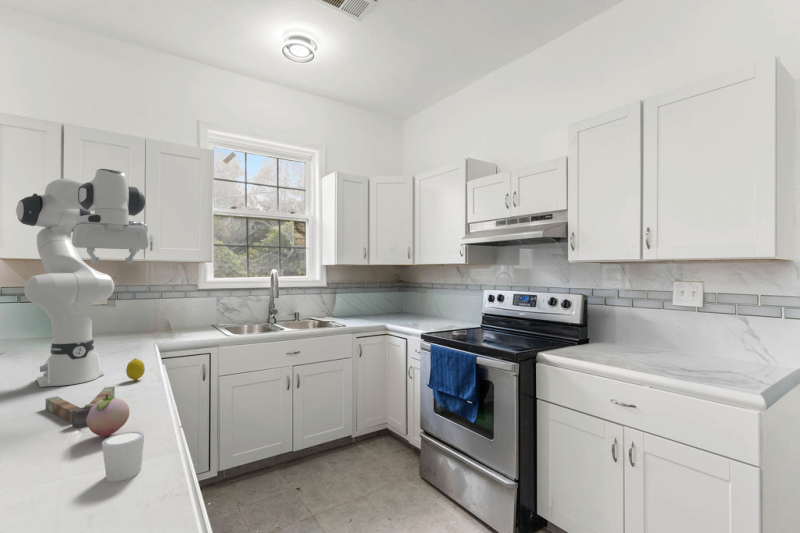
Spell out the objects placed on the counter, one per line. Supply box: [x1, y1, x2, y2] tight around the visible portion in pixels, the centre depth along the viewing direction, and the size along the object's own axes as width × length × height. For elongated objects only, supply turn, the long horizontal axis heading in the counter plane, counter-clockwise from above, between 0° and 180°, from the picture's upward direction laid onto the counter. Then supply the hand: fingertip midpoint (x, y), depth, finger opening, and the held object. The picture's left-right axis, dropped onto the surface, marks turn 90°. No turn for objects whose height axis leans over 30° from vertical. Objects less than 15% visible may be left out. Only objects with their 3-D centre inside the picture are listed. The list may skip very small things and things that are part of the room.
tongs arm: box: [89, 385, 116, 404], centre depth 117 cm, size 20×2×3 cm, turn 24°
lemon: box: [125, 358, 145, 382], centre depth 145 cm, size 6×6×8 cm
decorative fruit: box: [86, 395, 130, 438], centre depth 96 cm, size 9×8×10 cm
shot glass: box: [101, 431, 145, 483], centre depth 78 cm, size 7×7×7 cm
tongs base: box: [45, 395, 94, 429], centre depth 111 cm, size 25×6×5 cm, turn 56°
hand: (112, 263), depth 129 cm, fingers open, 8 cm apart
